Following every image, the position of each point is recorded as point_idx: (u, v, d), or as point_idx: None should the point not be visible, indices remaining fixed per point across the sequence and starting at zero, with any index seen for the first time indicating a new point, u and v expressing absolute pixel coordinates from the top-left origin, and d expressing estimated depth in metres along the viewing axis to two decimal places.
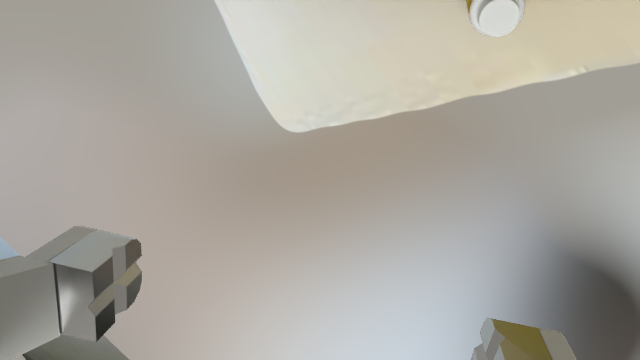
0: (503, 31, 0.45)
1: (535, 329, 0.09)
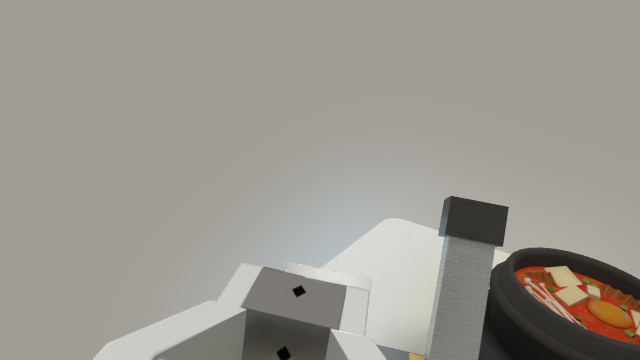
0: None
1: (343, 286, 0.09)
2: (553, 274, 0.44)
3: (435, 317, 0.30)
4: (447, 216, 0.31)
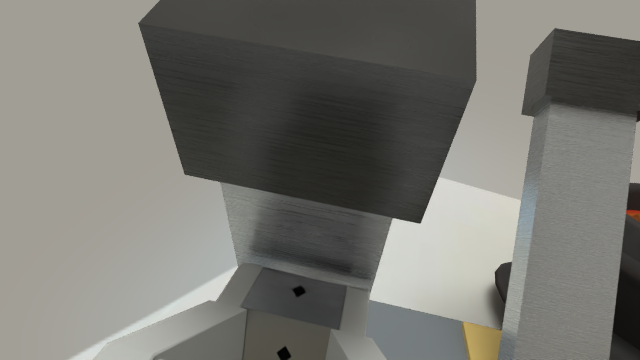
0: None
1: (343, 286, 0.09)
2: None
3: (528, 245, 0.16)
4: (547, 65, 0.17)
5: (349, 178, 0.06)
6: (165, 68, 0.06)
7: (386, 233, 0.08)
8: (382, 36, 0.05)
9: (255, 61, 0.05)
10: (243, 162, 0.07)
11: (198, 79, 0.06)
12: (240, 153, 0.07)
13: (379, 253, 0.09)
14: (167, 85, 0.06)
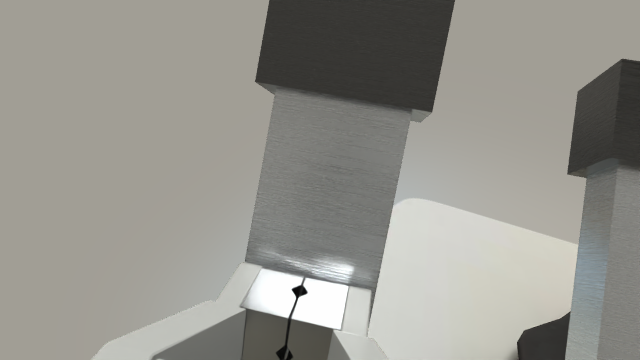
0: None
1: (345, 286, 0.09)
2: None
3: None
4: (612, 112, 0.12)
5: (382, 68, 0.09)
6: None
7: (401, 156, 0.10)
8: None
9: None
10: (307, 62, 0.10)
11: None
12: (307, 53, 0.10)
13: (394, 188, 0.10)
14: None
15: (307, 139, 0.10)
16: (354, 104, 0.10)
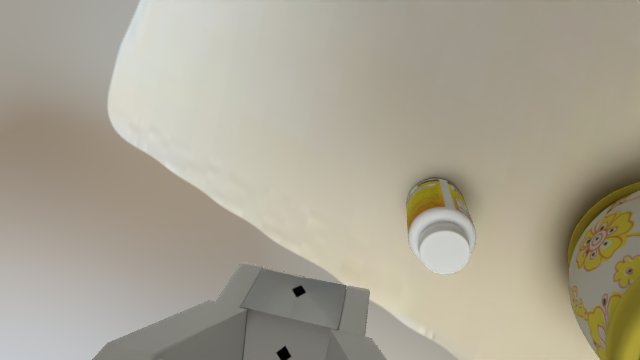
0: (435, 267, 0.35)
1: (343, 286, 0.09)
2: None
3: None
4: None
5: None
6: None
7: None
8: None
9: None
10: None
11: None
12: None
13: None
14: None
15: None
16: None
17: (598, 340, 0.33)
